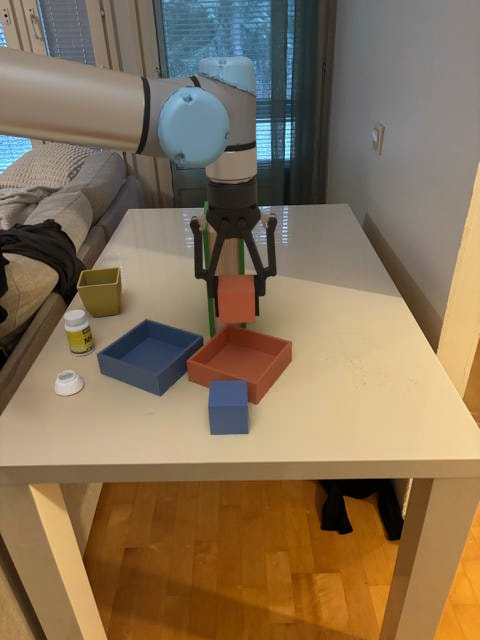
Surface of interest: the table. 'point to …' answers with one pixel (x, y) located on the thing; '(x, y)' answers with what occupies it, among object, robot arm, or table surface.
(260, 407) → the table surface
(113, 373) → the slate bin
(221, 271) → the hardback book
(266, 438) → the table surface
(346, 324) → the table surface
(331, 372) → the table surface
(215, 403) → the slate block
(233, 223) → the robot arm
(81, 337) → the supplement bottle
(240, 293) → the rust block
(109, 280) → the flower pot
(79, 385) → the lidless jar
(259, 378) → the rust bin
